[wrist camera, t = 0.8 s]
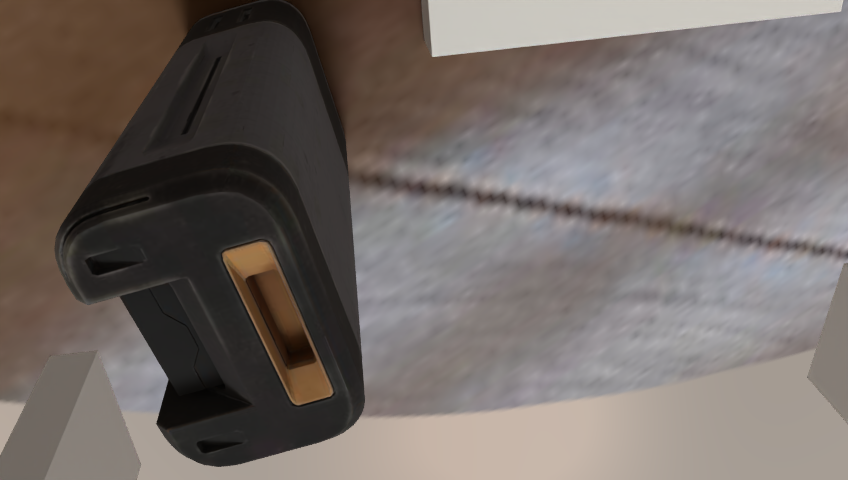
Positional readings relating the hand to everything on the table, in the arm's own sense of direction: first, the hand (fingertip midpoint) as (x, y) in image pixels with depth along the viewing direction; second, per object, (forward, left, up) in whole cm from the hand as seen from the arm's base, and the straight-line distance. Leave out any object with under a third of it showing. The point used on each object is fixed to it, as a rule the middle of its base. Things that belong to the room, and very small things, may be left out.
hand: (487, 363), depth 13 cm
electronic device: (+3, -6, -26) cm, 27 cm away
